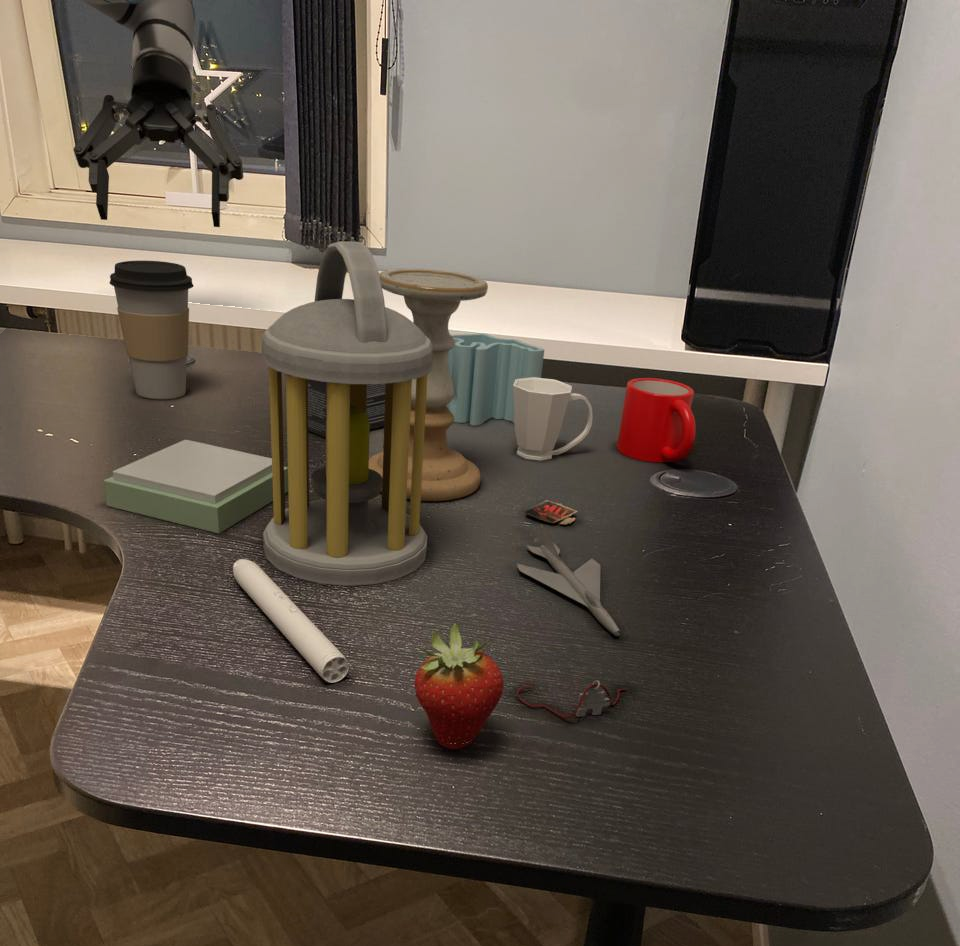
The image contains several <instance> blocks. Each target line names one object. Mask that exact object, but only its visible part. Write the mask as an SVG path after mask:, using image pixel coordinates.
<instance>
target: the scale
mask: <svg viewBox="0 0 960 946" xmlns="http://www.w3.org/2000/svg"><path fill="white" fill-rule="evenodd" d="M284 486H285V494H287V493H288V466H284ZM103 487H104V495H105V502H106V506H107V507H109V508H110V507H111V508H114V509H118V510H123V511H126V512H129V513H134V514H137V515H142V516H147V517H151V518H154V519H158V520H163V521H166V522H171V523H175V524H178V525H183V526H186V527H190V528H195V529H198V530H203V531H206V532H209V533H210V532H211V533H215V534H221V533H223V532H224V531H226V530H227V529H229V528H231V527H232V526H234V525H236V524H238V523H239V522H241V521H242V520H244V519H246V518H247V517H249V516H250V515H252V514H254V513H256V512H257V511H259V510H260V509H262V508H264V507H265V506H267V505H269V504H270V503H272V502H273V480H272V457H266V456H262V455H257V454H253V453H249V452H244V451H240V450H237V449H236V450H235V449H230V448H226V447H222V446H217V445H213V444H208V443H204V442H199V441H194V440H189V439H183V440H181V441H179V442H177V443H174V444H171V445H170V446H167V447H165V448H163V449H161V450H158V451H155V452H153V453H151V454H149V455H147V456H144V457H142V458H140V459H138V460H135V461H133V462H131V463H128V464H126V465H124V466H122V467H119V468H117V469H115V470H112V476H110V477H108V478H106V479H104V480H103Z"/></svg>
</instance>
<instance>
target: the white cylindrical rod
mask: <svg viewBox="0 0 960 946" xmlns="http://www.w3.org/2000/svg"><path fill="white" fill-rule="evenodd" d="M232 574H233V577H234V580H235V581H236V582H237V584H238V585H239V586H240V587H241V588H242V590H244V592H245V593H246V594H247V595H248V596H249V598H251V600H253V602H254V603H255V604H256V606H257V607H259V609H260V610H261V611H262V612H263V613H264V614H265V616H267V617H268V619H269V620H270V621H271V622H272V623H273V625H274V626H275V627H276V628H277V629H278V630H279V631H280V632H281V633H282V635H283V636H284V637H285V638H286V639H287V640H288V641H289V643H290V644H291V645H292V646H293V647H294V648H295V649H296V650H297V652H298V653H299V654H300V655H301V656H302V657H303V658H304V659H305V660H306V662H307V663H308V664H309V665H310V666H311V667H312V668H313V669H314V671H315V672H316V673H317V674H318V675H319V677H321V679H323V680H324V681H325V682H327V683H330V684H331V683H338V682H340V681H341V680H342V679H344V678H345V677H346V676H347V674H348V672H349V669H350V665H349V661H348V660H347V658H346V657H345V655H344V654H343V653H342V652H341V651H340V650H339V649H338V648H337V647H336V645H334V644H333V643H332V642H331V640H329V639H328V637H327V636H326V635H325V634H324V633H323V632H322V631H321V629H319V628H318V627H317V625H315V624H314V622H312V620H311V619H309V618H308V616H307V615H306V614H305V613H304V612H303V611H302V610H301V609H300V608H299V607H298V605H296V604H295V603H294V602H293V601H292V599H290V598H289V596H288V595H287V594H286V593H285V592H284V591H283V590H282V589H281V588H280V587H279V586H278V585H277V583H275V582H274V581H273V580H272V579H271V578H270V576H268V575H267V573H265V571H264V570H263V569H262V568H261V567H260V566H259V565H258V563H256V562H254V561H252V560H250V559H245V558H240V559H237V560H236V561H235V562H234V564H233V566H232Z"/></svg>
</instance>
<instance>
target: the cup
mask: <svg viewBox="0 0 960 946" xmlns="http://www.w3.org/2000/svg"><path fill="white" fill-rule="evenodd" d="M572 389H573V386H572V385H570V384H568V383H566V382H562V381H560V380H557V379H553V378H544V377H543V378H542V377H541V378H537V377H531V378H522V379H515V382H514V384H513V397H514V423H513V424H514V426H513V427H514V432H515V440H516V445H517V450H516V455H517V456H519V457H521V458H523V459H525V460H530V461H531V460H533V461H538V462H540V461H547V460H552V459H553V456H559V455H561V454H564V453H565V452H567V451H569V450H570V449H572V448H573V447H575V446H576V445H577V444H579V443H581V442H582V441H583V440H584V439H585V438H586V437H587V436H588V434H589V433H590V431H591V429H592V426H593V417H594V416H593V407H592V404H591V402H590V401H589V400H588V398H587V397H586V396H584V395H583V394H580V393H574V392H572ZM577 400H582V401H583V402H584V403H585V405H586V410H587V422H586V425H585V428H584V430H582V432H581V433H580V434H579V435H578V436H577V437H575V438H574V439H573V440H571V441H569V442H568V443H567V444H565V445H564V446H562V447H559V448H558V449H554V448H555V446H556V443H557V441H558V439H559V436H560V433H561V431H562V426H563V424H564V419H565V415H566V412H567V408H568V405H569V403H570V402H572V401H577Z"/></svg>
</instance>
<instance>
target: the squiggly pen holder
mask: <svg viewBox="0 0 960 946" xmlns="http://www.w3.org/2000/svg"><path fill="white" fill-rule="evenodd" d="M450 335H451V336H452V337H453V338H454V340H455V346H454V347H453V348H452V349H451V350H449V353H448V354H449V367H450V373H451V378H452V382H453V386H454V397H453V399H452V400H451V402H450V403H448V404H447V405H446V407H447V408H448V409H449V410H450V412H451V413H452V414H453V416H454V422H453V423H459V424H461V423H462V424H463V423H465V424H466V423H468V422H469V425H470V426H474V427H475V426H480V425H483V424H484V423H485V422H486V421H488V420H489V419H492V418H493V419H495V420H505V421H508V422H509V421H510V422H512V423H513V424H514V397H513V384H514V382H515V379H522V378H531V377H537V378H542V375H543V374H542V373H543V366H544V357H545V349H544V348H543V347H539V346H536V345H533V344H529V343H526V342H524V341H521V340H520V339H515V338H514V339H513V338H500V337H497V336H496V337H495V336H492V335H491V334H487V333H469V334H467V333H465V334H450Z"/></svg>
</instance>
